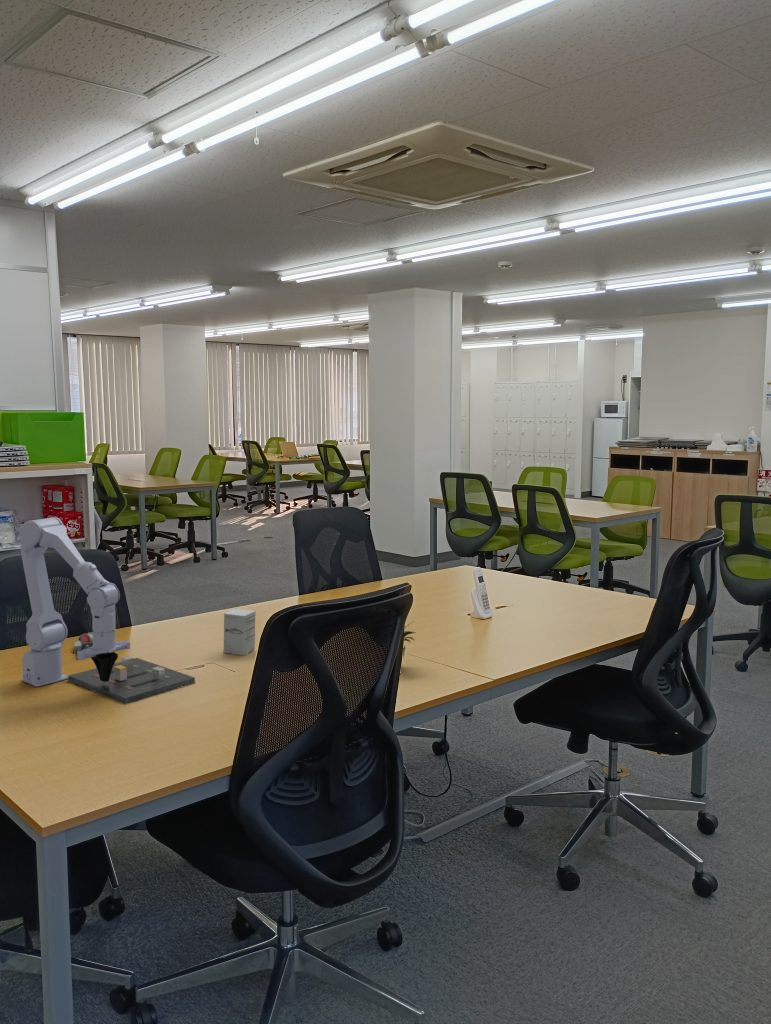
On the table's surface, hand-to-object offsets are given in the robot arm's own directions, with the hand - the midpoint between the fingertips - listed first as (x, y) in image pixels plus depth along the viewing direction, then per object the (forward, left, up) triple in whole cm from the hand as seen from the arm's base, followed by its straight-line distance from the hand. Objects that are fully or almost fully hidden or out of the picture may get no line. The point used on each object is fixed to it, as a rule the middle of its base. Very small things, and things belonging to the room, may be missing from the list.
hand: (104, 680), depth 219 cm
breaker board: (+8, 0, -2) cm, 9 cm away
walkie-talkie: (+18, +35, -3) cm, 39 cm away
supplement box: (+47, 0, -3) cm, 47 cm away
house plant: (+66, -44, -3) cm, 80 cm away
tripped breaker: (+5, 0, -1) cm, 5 cm away
